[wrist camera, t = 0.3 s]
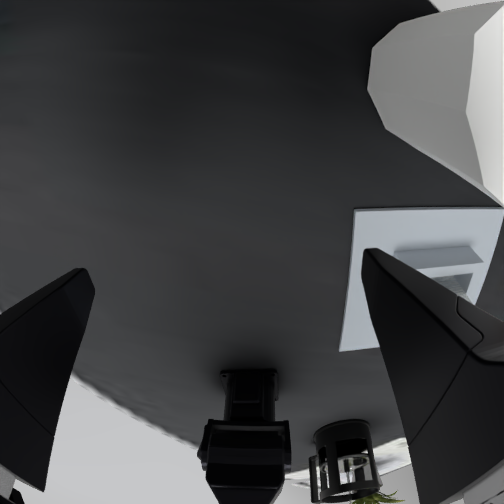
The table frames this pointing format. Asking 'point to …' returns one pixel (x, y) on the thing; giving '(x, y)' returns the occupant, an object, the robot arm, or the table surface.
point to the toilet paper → (447, 90)
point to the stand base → (419, 254)
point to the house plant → (374, 497)
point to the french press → (343, 461)
